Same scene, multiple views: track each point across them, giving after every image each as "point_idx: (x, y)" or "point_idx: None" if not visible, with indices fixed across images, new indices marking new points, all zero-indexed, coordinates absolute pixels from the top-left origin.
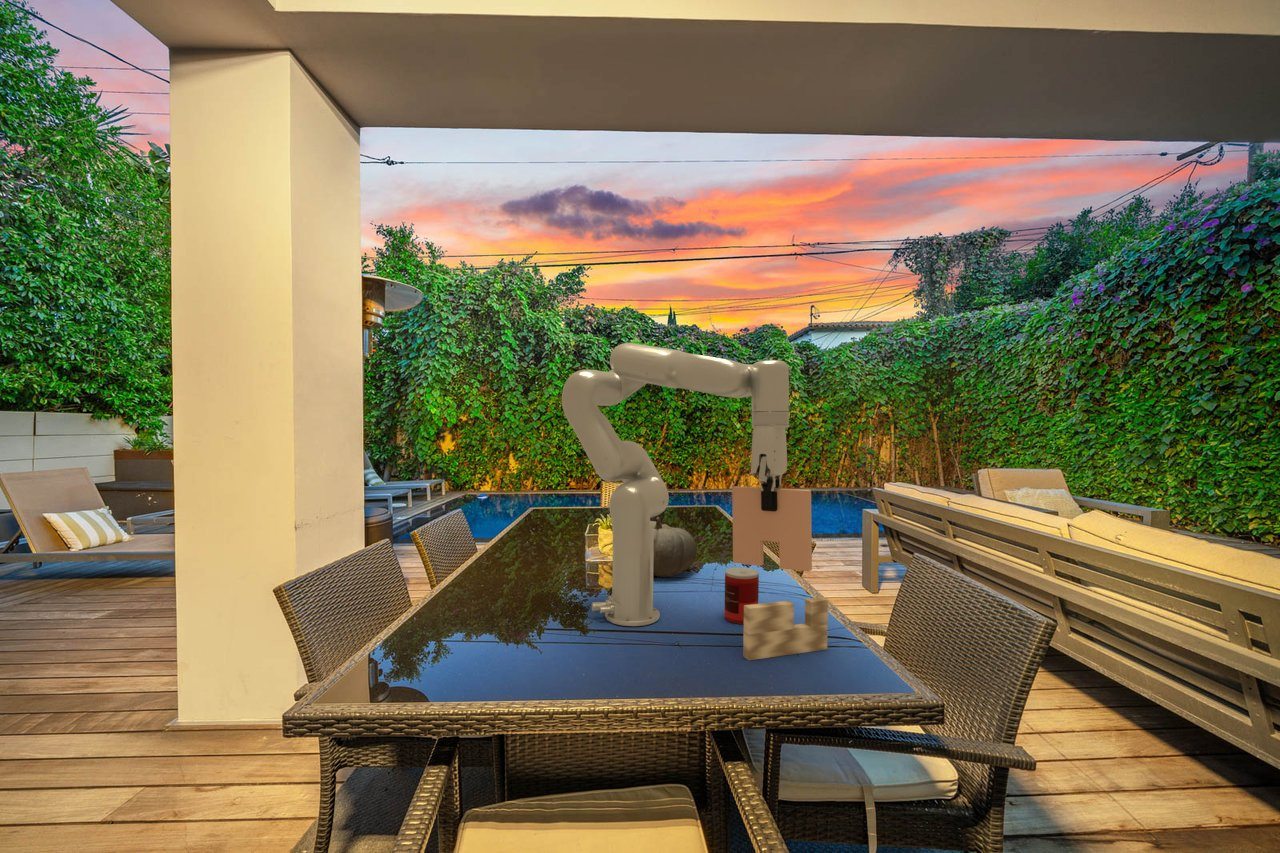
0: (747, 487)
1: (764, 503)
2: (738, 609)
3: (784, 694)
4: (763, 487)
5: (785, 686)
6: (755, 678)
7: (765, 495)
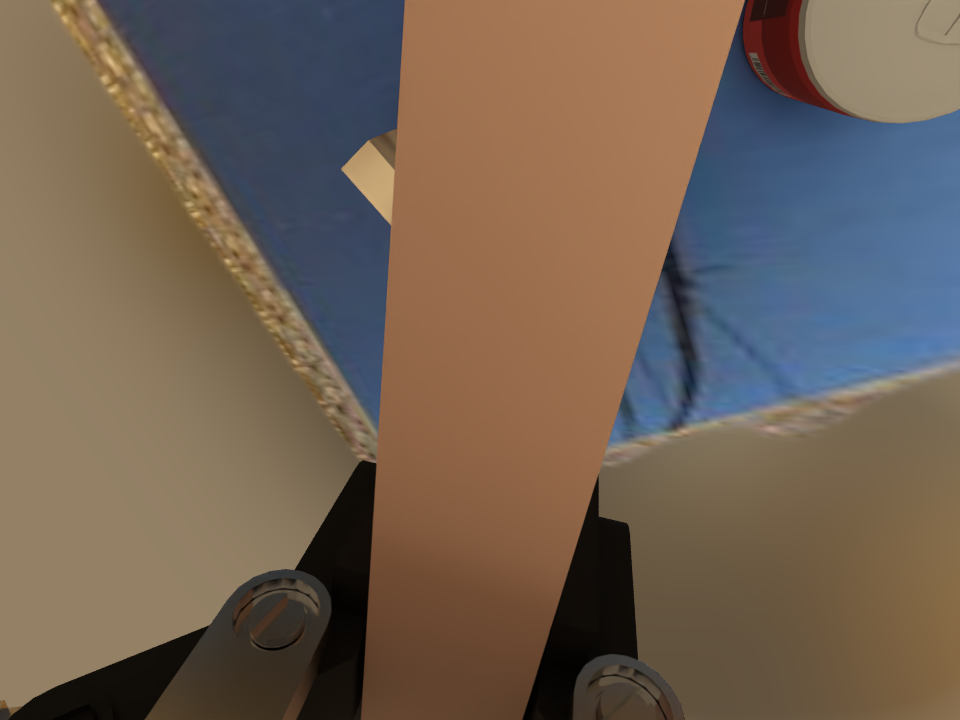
0: (499, 357)
1: (349, 480)
2: (753, 19)
3: (267, 257)
4: (169, 655)
5: (305, 256)
6: (306, 179)
7: (306, 566)
